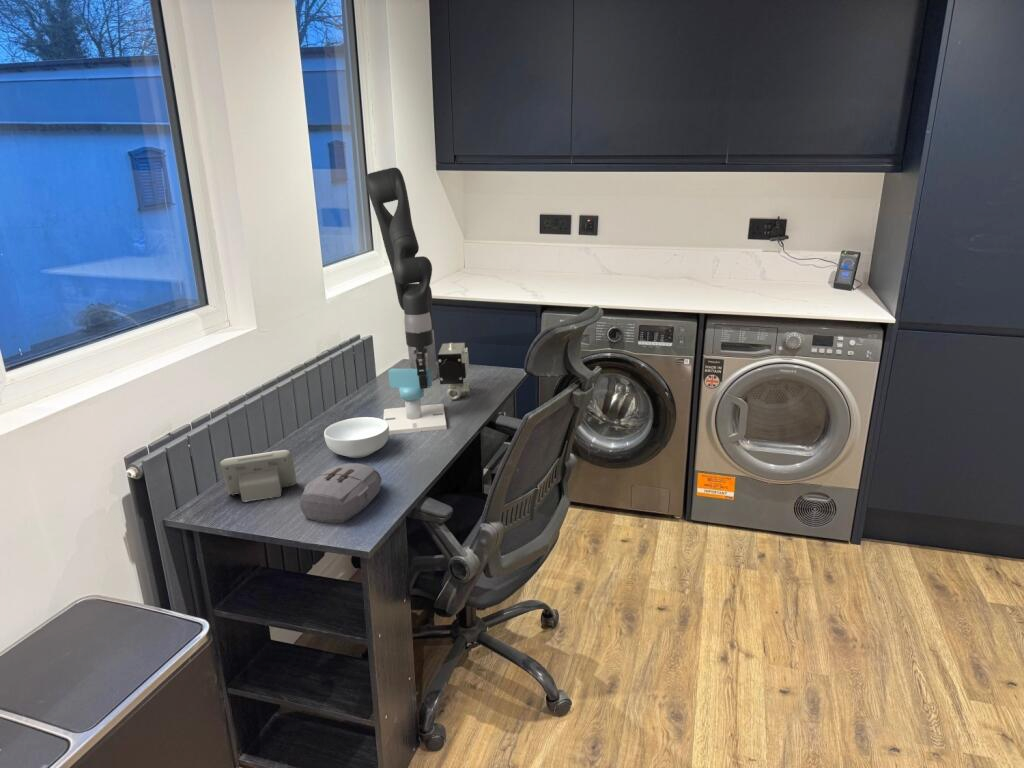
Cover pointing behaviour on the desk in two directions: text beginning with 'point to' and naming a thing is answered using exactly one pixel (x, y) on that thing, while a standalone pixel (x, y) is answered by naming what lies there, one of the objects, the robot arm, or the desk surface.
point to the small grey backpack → (340, 493)
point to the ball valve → (454, 368)
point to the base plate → (421, 422)
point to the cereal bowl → (357, 436)
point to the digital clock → (259, 474)
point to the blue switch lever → (408, 382)
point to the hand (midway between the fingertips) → (423, 386)
